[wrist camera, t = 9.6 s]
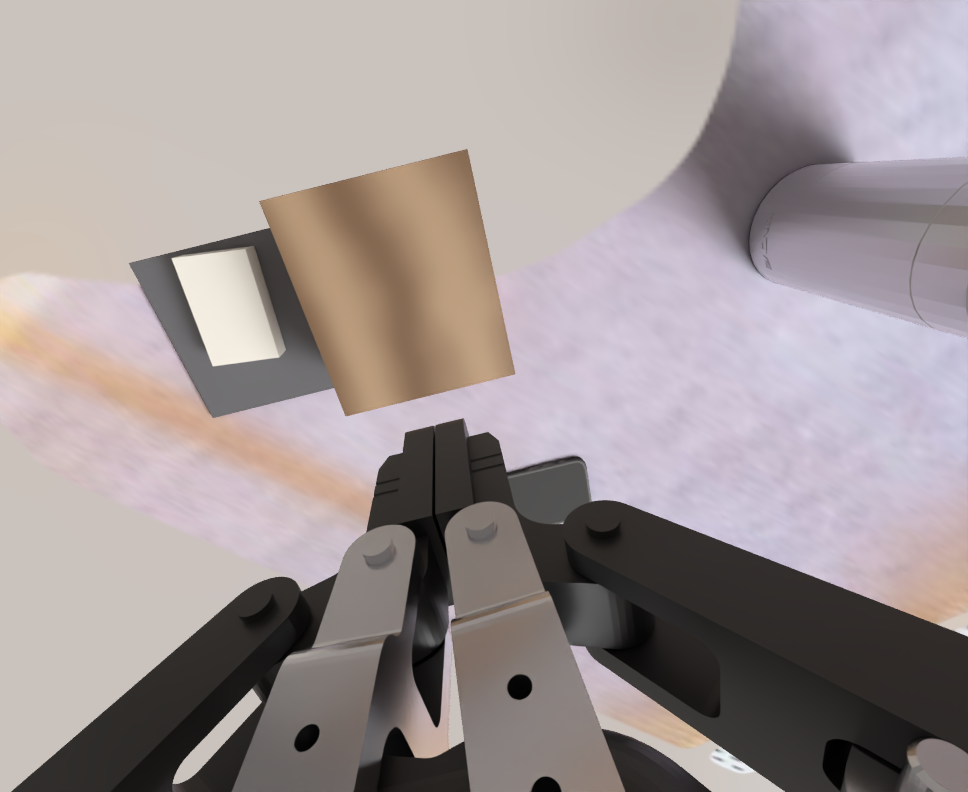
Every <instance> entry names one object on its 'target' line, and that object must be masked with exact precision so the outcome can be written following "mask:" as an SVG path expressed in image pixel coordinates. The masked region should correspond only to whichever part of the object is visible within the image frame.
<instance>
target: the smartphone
mask: <svg viewBox="0 0 968 792" xmlns="http://www.w3.org/2000/svg"><path fill="white" fill-rule="evenodd" d="M507 476H508V480H509V485H510V489H511V493H512V497H513V501H514V505H515V507H516V509H517V510H518V512H519V513H520V514H521V515H522V516H524V517H525V518H527V519H529V520H531V521H534V522H537V523H543V524H560V523H563V522H564V521H565V519H566V518H567V516H568V515H569V514H570V513H571V512H572V511H573V510H574V509H576V508H577V507H579V506H581V505H584V504H586V503H589V502H592V501H591V495H590V488H589V481H588V474H587V468H586V464H585V462H584V461H583V460H582V459H581V458H579V457H572V458H568V459H562V460H558V461H556V462H549V463H545V464H542V465H536V466H532V467H528V468H527V469H522V470H518V471H514V472H510V473H507Z"/></svg>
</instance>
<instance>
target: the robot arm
mask: <svg viewBox="0 0 968 792" xmlns="http://www.w3.org/2000/svg"><path fill="white" fill-rule="evenodd" d="M749 244H750V254H751V257H752V260H753V263H754V265H755V266H756V268H757V270H758V271H759V272H760V273H761V274H762V275H763V276H764V277H765V278H766V279H768V280H770V281H772V282H774V283H777V284H781V285H784V286H788V287H791V288H795V289H798V290H802V291H805V292H808V293H811V294H815V295H818V296H822V297H825V298H828V299H832V300H835V301H839V302H842V303H846V304H849V305H853V306H856V307H860V308H863V309H867V310H870V311H873V312H877V313H880V314H884V315H887V316H891V317H894V318H898V319H901V320H905V321H908V322H912V323H915V324H918V325H922V326H925V327H929V328H932V329H936V330H939V331H943V332H947V333H951V334H954V335H957V336H961V337H964V338H968V157H957V158H937V159H917V160H897V161H877V162H853V163H833V164H815V165H811V166H807V167H803V168H801V169H799V170H797V171H794V172H792V173H790V174H789V175H788V176H786V177H785V178H783V179H782V180H781V181H779V182H778V183H777V184H776V185H775V186H774V187H773V188H772V189H771V190H770V191H769V193H768V194H767V196H766V197H765V198H764V200H763V201H762V203H761V204H760V206H759V208H758V210H757V212H756V214H755V217H754V220H753V223H752V226H751V231H750V239H749ZM376 485H377V486H375V491H374V498H373V501H372V506H371V511H370V517H369V522H368V527H367V532H366V533H365V534H364V535H362V536H361V537H359V538H358V539H357V540H356V541H355V542H354V543H352V545H351V546H350V547H349V548H348V550H347V551H346V553H345V555H344V557H343V560H342V563H341V566H340V569H339V572H338V573H337V574H335V575H334V576H332V577H330V578H328V579H326V580H324V581H322V582H320V583H318V584H316V585H314V586H312V587H310V588H308V589H306V590H304V591H302V592H301V590H300V588H299V586H298V584H297V583H296V582H295V581H294V580H293V579H291V578H288V577H275V578H270V579H267V580H264V581H262V582H259V583H257V584H255V585H253V586H252V587H250V588H248V589H247V590H245V591H244V592H243V593H241V594H240V595H239V596H238V597H236V598H235V599H234V600H233V601H232V602H231V603H229V604H228V605H227V606H226V607H225V608H224V609H222V610H221V611H220V612H219V613H218V614H217V615H216V616H214V617H213V618H212V619H211V620H210V621H209V622H207V623H206V624H205V625H204V626H203V627H202V628H201V629H199V630H198V631H197V632H196V633H195V634H193V636H191V637H190V638H189V639H188V640H187V641H185V642H184V643H183V644H182V645H181V646H180V647H178V648H177V649H176V650H175V651H174V652H173V653H171V654H170V655H169V656H168V657H167V658H166V659H165V660H163V661H162V662H161V663H160V664H159V665H158V666H156V667H155V668H154V669H153V670H152V671H151V672H149V673H148V674H147V675H146V676H145V677H144V678H142V679H141V680H140V681H139V682H138V683H137V684H135V685H134V686H133V687H132V688H131V689H130V690H129V691H127V692H126V693H125V694H124V695H123V696H122V697H120V698H119V699H118V700H117V701H116V702H115V703H114V704H112V705H111V706H110V707H109V708H108V709H107V710H105V711H104V712H103V713H102V714H101V715H100V716H99V717H97V718H96V719H95V720H94V721H93V722H91V723H90V724H89V725H88V726H87V727H86V728H85V729H83V730H82V731H81V732H80V733H79V734H78V735H76V736H75V737H74V738H73V739H72V740H71V741H69V742H68V743H67V744H66V745H65V746H64V747H63V748H61V749H60V750H59V751H58V752H57V753H56V754H55V755H53V756H52V757H51V758H50V759H49V760H47V761H46V762H45V763H44V764H43V765H42V766H41V767H40V768H38V769H37V770H36V771H35V772H34V773H32V774H31V775H30V776H29V777H28V778H27V779H26V780H24V781H23V782H22V783H21V784H20V785H19V786H17V787H16V788H15V789H14V790H13V791H12V792H711V791H710V790H709V789H707V788H706V787H705V786H704V785H703V784H701V783H700V782H699V781H698V780H696V779H695V778H694V777H693V776H692V775H690V774H689V773H688V772H687V771H685V770H684V769H683V768H682V767H680V766H679V765H678V764H677V763H675V762H674V761H673V760H671V759H670V758H668V757H666V756H665V755H664V754H662V753H660V752H659V751H657V750H656V749H654V748H652V747H651V746H649V745H647V744H645V743H643V742H640V741H638V740H636V739H634V738H632V737H629V736H625V735H623V734H620V733H617V732H614V731H609V730H604V729H601V726H600V724H599V721H598V719H597V716H596V713H595V711H594V708H593V705H592V703H591V700H590V698H589V695H588V692H587V690H586V687H585V684H584V682H583V679H582V676H581V674H580V671H579V669H578V666H577V663H576V661H575V658H574V655H573V653H572V650H571V647H570V645H574V646H585V647H586V649H587V650H588V652H589V653H590V655H591V656H592V657H593V658H594V659H595V660H597V661H598V662H599V663H600V664H602V665H603V666H605V667H606V668H608V669H609V670H611V671H612V672H613V673H615V674H616V675H618V676H619V677H621V678H622V679H624V680H625V681H626V682H628V683H629V684H631V685H632V686H634V687H635V688H637V689H638V690H639V691H641V692H642V693H644V694H645V695H647V696H648V697H649V698H651V699H652V700H654V701H655V702H657V703H658V704H660V705H661V706H662V707H664V708H665V709H667V710H668V711H670V712H671V713H673V714H674V715H675V716H677V717H678V718H680V719H681V720H683V721H684V722H686V723H687V724H688V725H690V726H691V727H693V728H694V729H696V730H697V731H699V732H700V733H701V734H703V735H704V736H706V737H707V738H709V739H710V740H712V741H713V742H714V743H716V744H717V745H719V746H720V747H722V748H723V749H725V750H726V751H727V752H729V753H730V754H732V755H733V756H735V757H736V758H738V759H739V760H740V761H742V762H743V763H745V764H746V765H748V766H749V767H750V768H752V769H753V770H755V771H756V772H758V773H759V774H761V775H762V776H764V777H765V778H766V779H768V780H769V781H771V782H772V783H774V784H775V785H776V786H778V787H779V788H781V789H782V790H784V791H785V792H968V637H967V636H965V635H962V634H960V633H957V632H955V631H952V630H949V629H947V628H944V627H941V626H939V625H936V624H934V623H931V622H929V621H926V620H924V619H921V618H918V617H916V616H913V615H911V614H908V613H906V612H903V611H900V610H898V609H895V608H893V607H890V606H887V605H885V604H882V603H880V602H877V601H875V600H872V599H869V598H867V597H864V596H862V595H859V594H856V593H854V592H851V591H849V590H846V589H844V588H841V587H838V586H836V585H833V584H831V583H828V582H826V581H823V580H820V579H818V578H815V577H813V576H810V575H807V574H805V573H802V572H800V571H797V570H795V569H792V568H789V567H787V566H784V565H782V564H779V563H777V562H774V561H771V560H769V559H766V558H764V557H761V556H758V555H756V554H753V553H751V552H748V551H746V550H743V549H740V548H738V547H735V546H733V545H730V544H727V543H725V542H722V541H720V540H717V539H715V538H712V537H709V536H707V535H704V534H702V533H699V532H697V531H694V530H691V529H689V528H686V527H684V526H681V525H678V524H676V523H673V522H671V521H668V520H666V519H663V518H660V517H658V516H655V515H653V514H650V513H648V512H645V511H642V510H640V509H637V508H635V507H632V506H629V505H627V504H624V503H621V502H617V501H609V500H602V501H593V502H589V503H586V504H584V505H581V506H579V507H577V508H576V509H574V510H573V511H572V512H571V513H570V514H569V515H568V516H567V518H566V519H565V521H564V524H543V523H537V522H534V521H531V520H529V519H527V518H525V517H524V516H522V515H521V514H520V513H519V512H518V510H517V509H516V507H515V505H514V501H513V497H512V493H511V489H510V485H509V480H508V476H507V472H506V468H505V464H504V460H503V456H502V452H501V448H500V444H499V440H497V439H496V438H495V437H494V436H492V435H491V434H490V433H488V432H486V433H482V434H478V435H474V436H470V437H469V434H468V431H467V427H466V424H465V421H464V418H463V419H459V420H454V421H450V422H446V423H442V424H438V425H436V426H435V427H434V426H430V427H426V428H422V429H418V430H414V431H410V432H406V433H405V439H404V447H403V453H400V454H396V455H392V456H389V457H388V458H387V460H386V461H385V462H384V464H383V465H382V466H381V468H380V469H379V471H378V476H377V481H376ZM451 605H454V607H455V615H456V619H453V620H452V621H451V632H450V630H449V627H448V624H449V616H448V606H451ZM451 634H452V636H451ZM452 643H453V651H454V659H455V668H456V676H457V684H458V692H459V700H460V708H461V717H462V725H463V733H464V742H462V743H460V744H458V745H456V746H455V747H453V748H451V749H449V743H448V730H449V729H448V728H449V707H450V684H451V661H452ZM252 688H253V690H254V691H255V693H256V694H257V696H258V697H259V698H260V700H261V701H262V703H261V704H260V705H259V706H258V707H257V708H256V709H255V711H254V712H253V713H252V714H251V715H250V716H249V717H248V718H247V719H246V720H245V722H243V724H242V725H241V726H240V727H239V728H238V729H237V730H236V731H235V732H234V733H233V735H232V736H231V737H230V738H229V739H228V740H227V741H226V742H225V743H224V744H223V745H222V746H221V748H220V749H219V750H218V751H217V752H216V753H215V754H214V755H213V756H212V757H211V759H209V761H208V762H207V763H206V764H205V765H204V766H203V767H202V768H201V769H200V770H199V771H198V772H197V773H196V774H195V775H194V776H193V777H192V778H190V779H188V780H187V781H185V782H182V783H180V784H172V783H173V779H174V776H175V773H176V771H177V769H178V768H179V766H180V764H181V763H182V762H183V760H184V759H185V758H186V757H187V756H188V755H189V753H190V752H191V751H192V750H193V749H194V748H195V747H196V746H197V745H198V744H199V743H200V742H201V741H202V740H203V739H204V738H205V737H206V736H207V735H208V734H209V733H210V732H211V731H212V729H213V728H214V727H215V726H216V725H217V724H218V723H219V722H220V721H221V720H222V719H223V718H224V717H225V716H226V715H227V714H228V713H229V712H230V711H231V710H232V709H233V708H234V706H235V705H236V704H237V703H238V702H239V701H240V700H241V699H242V698H243V697H244V696H245V695H246V694H247V693H248V692H249V691H250V690H251V689H252Z"/></svg>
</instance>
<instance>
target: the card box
mask: <svg viewBox="0 0 968 792" xmlns="http://www.w3.org/2000/svg"><path fill="white" fill-rule="evenodd" d="M172 261H173V264H174V266H175V269H176V272H177V274H178V277H179V279H180V282H181V285H182V287H183V290H184V292H185V295H186V298H187V300H188V303H189V306H190V308H191V311H192V313H193V316H194V319H195V321H196V324H197V326H198V329H199V332H200V334H201V337H202V340H203V342H204V345H205V347H206V350H207V353H208V355H209V358H210V360H211V363H212V366H220V365H227V364H235V363H242V362H249V361H257V360H264V359H271V358H279V357H280V356H281V355H282V354H283V353H284V352H285V350H286V348H285V345H284V341H283V338H282V335H281V332H280V328H279V325H278V322H277V319H276V315H275V312H274V309H273V305H272V302H271V299H270V296H269V292H268V289H267V286H266V283H265V279H264V276H263V273H262V270H261V266H260V263H259V260H258V256H257V253H256V250H255V247H254V246H250V247H242V248H234V249H226V250H218V251H210V252H202V253H194V254H186V255H181V256H178V257H174V258H172Z"/></svg>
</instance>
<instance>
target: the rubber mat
mask: <svg viewBox="0 0 968 792" xmlns="http://www.w3.org/2000/svg"><path fill="white" fill-rule="evenodd" d="M250 246H254V247H255V250H256V253H257V256H258V260H259V263H260V266H261V270H262V273H263V276H264V279H265V283H266V286H267V289H268V292H269V296H270V299H271V302H272V305H273V309H274V312H275V315H276V319H277V322H278V325H279V328H280V332H281V335H282V338H283V341H284V345H285V348H286V350H285V352H284V353H283V354H282V355H281V356H280V357H279V358H271V359H264V360H257V361H249V362H242V363H235V364H227V365H220V366H212V363H211V360H210V358H209V355H208V353H207V350H206V347H205V345H204V342H203V340H202V337H201V334H200V332H199V329H198V326H197V324H196V321H195V319H194V316H193V313H192V311H191V308H190V306H189V303H188V300H187V298H186V295H185V292H184V290H183V287H182V285H181V282H180V279H179V277H178V274H177V272H176V269H175V266H174V264H173V261H172V258H174V257H178V256H181V255H186V254H194V253H202V252H210V251H218V250H226V249H234V248H242V247H250ZM129 264H130V266H131V268H132V270H133V272H134V273H135V275H136V277H137V279H138V281H139V283H140V285H141V286H142V288H143V290H144V292H145V294H146V296H147V298H148V299H149V301H150V303H151V305H152V307H153V309H154V310H155V312H156V314H157V316H158V318H159V320H160V321H161V323H162V325H163V327H164V329H165V331H166V332H167V334H168V336H169V338H170V340H171V342H172V344H173V345H174V347H175V349H176V351H177V353H178V355H179V356H180V358H181V360H182V362H183V364H184V366H185V367H186V369H187V371H188V373H189V375H190V377H191V379H192V380H193V382H194V384H195V386H196V388H197V390H198V391H199V393H200V395H201V397H202V399H203V401H204V402H205V404H206V406H207V408H208V410H209V412H210V414H211V415H212V417H213V418H215V417H219V416H223V415H227V414H231V413H235V412H239V411H243V410H247V409H251V408H255V407H259V406H263V405H267V404H271V403H275V402H279V401H283V400H287V399H291V398H295V397H299V396H303V395H307V394H311V393H315V392H319V391H323V390H327V389H331V388H334V386H333V383H332V381H331V378H330V376H329V373H328V371H327V368H326V366H325V363H324V361H323V358H322V356H321V353H320V351H319V348H318V346H317V343H316V341H315V339H314V336H313V334H312V331H311V329H310V326H309V324H308V321H307V319H306V316H305V314H304V311H303V309H302V306H301V304H300V301H299V299H298V296H297V294H296V291H295V289H294V286H293V284H292V281H291V279H290V276H289V274H288V271H287V269H286V266H285V264H284V261H283V259H282V256H281V254H280V251H279V249H278V246H277V244H276V241H275V239H274V236H273V234H272V231H271V229H270V228H269V229H264V230H260V231H256V232H252V233H248V234H244V235H240V236H236V237H232V238H228V239H224V240H220V241H216V242H212V243H208V244H204V245H200V246H196V247H192V248H188V249H184V250H180V251H176V252H172V253H168V254H164V255H160V256H156V257H152V258H148V259H144V260H140V261H136V262H132V263H129Z"/></svg>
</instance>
